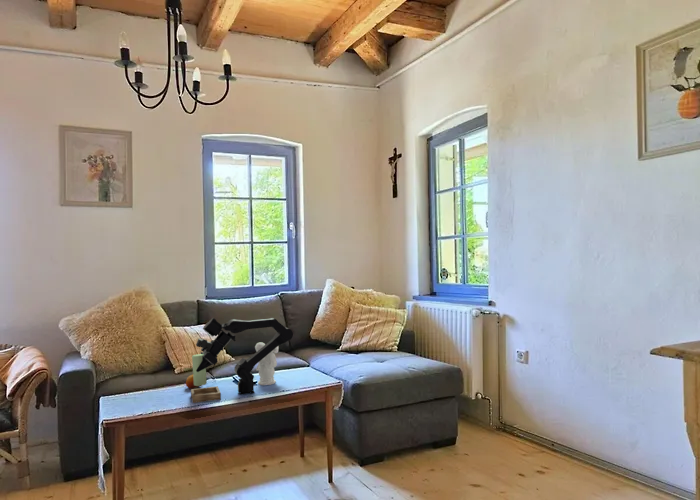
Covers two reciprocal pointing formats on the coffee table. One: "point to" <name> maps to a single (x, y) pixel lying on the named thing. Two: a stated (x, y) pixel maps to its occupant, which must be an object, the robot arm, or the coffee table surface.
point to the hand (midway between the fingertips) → (196, 370)
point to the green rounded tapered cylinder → (201, 375)
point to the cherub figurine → (267, 366)
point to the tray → (205, 394)
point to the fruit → (191, 382)
